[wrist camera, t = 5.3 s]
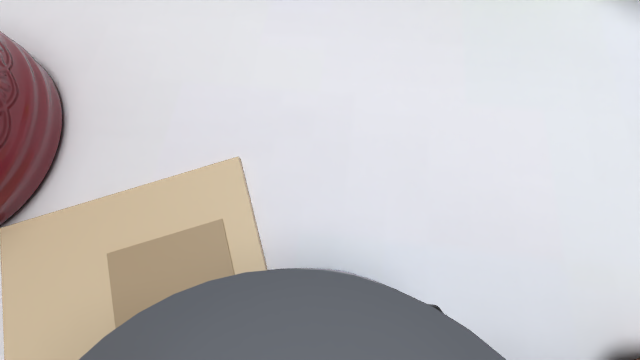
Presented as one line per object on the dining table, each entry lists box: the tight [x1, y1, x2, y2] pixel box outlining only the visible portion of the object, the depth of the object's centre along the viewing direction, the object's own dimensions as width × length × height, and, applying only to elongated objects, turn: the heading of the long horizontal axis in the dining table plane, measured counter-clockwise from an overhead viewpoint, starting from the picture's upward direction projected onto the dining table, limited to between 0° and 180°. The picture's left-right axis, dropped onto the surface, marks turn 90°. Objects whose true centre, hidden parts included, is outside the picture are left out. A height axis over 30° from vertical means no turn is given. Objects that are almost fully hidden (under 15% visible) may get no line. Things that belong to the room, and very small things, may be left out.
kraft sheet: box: [0, 157, 267, 360], centre depth 16 cm, size 13×10×1 cm
